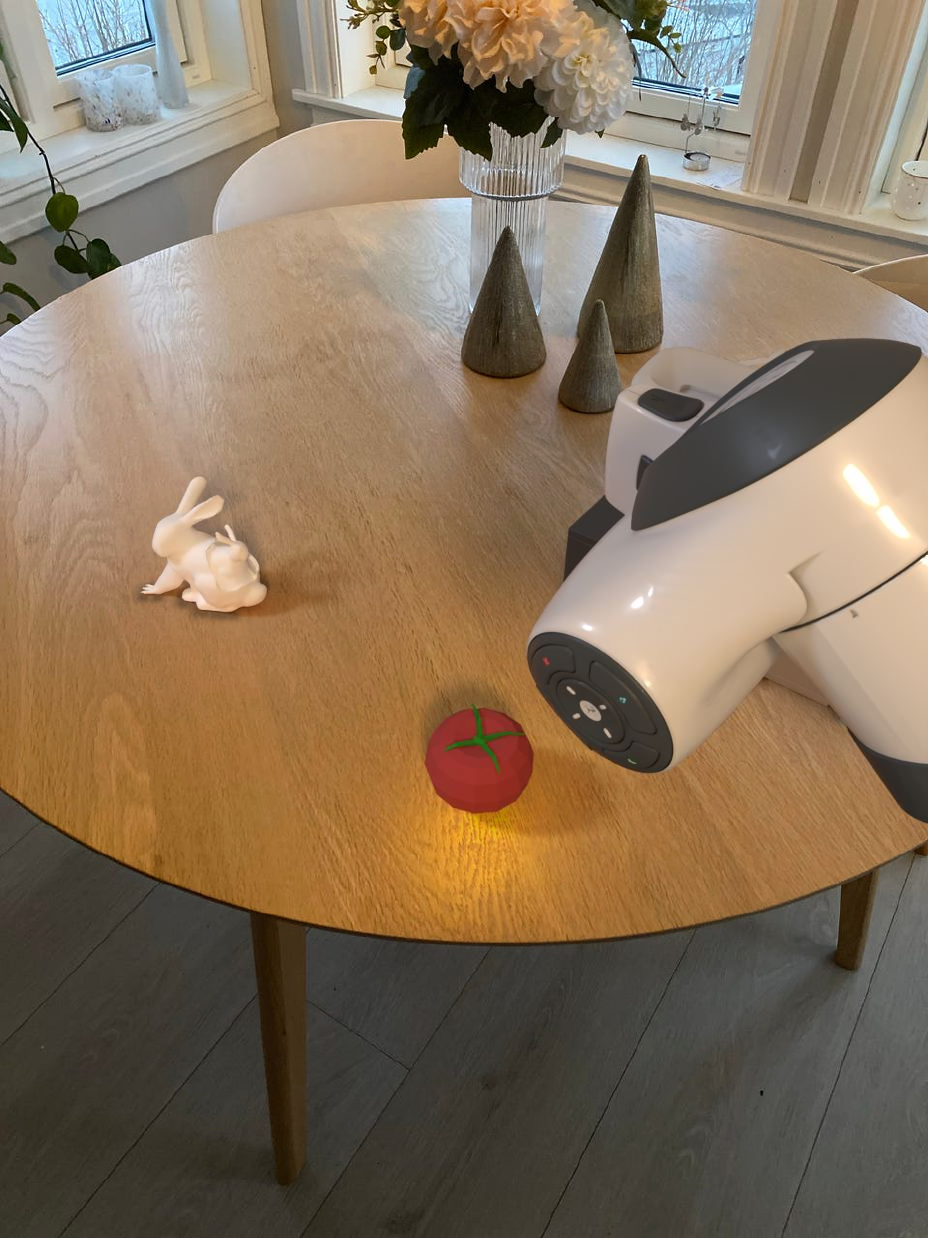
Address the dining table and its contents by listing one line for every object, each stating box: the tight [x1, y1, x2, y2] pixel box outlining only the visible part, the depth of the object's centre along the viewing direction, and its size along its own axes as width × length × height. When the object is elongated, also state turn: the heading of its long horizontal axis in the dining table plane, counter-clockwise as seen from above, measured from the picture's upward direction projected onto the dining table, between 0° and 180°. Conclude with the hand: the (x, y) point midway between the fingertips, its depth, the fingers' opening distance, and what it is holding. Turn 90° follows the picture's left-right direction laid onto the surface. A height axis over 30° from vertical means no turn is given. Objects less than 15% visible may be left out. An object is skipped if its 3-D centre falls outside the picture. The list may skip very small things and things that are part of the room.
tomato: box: [424, 702, 535, 815], centre depth 69 cm, size 8×8×8 cm
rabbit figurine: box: [140, 476, 268, 613], centre depth 85 cm, size 12×8×10 cm, turn 67°
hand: (869, 388), depth 53 cm, fingers open, 8 cm apart
